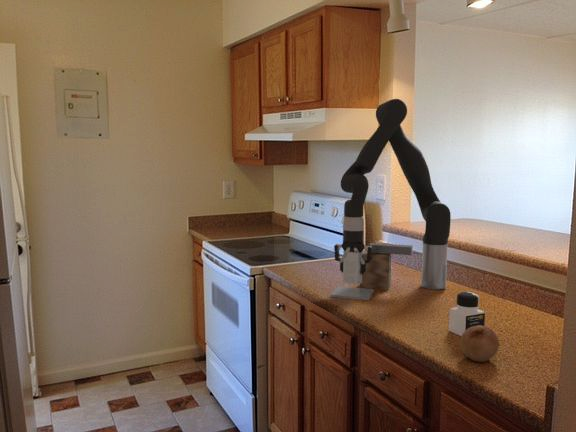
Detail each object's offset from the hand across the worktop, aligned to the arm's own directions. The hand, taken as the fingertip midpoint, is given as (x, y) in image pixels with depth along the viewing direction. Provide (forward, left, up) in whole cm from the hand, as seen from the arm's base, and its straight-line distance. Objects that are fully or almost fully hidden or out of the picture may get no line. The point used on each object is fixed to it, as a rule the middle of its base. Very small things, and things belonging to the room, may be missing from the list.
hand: (352, 272), depth 196 cm
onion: (-43, +49, -8) cm, 66 cm away
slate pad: (0, 0, -8) cm, 8 cm away
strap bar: (-12, -12, +6) cm, 18 cm away
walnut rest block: (-7, -12, -8) cm, 16 cm away
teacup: (-7, -26, -8) cm, 28 cm away
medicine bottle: (-40, +30, -8) cm, 51 cm away
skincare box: (0, 0, -4) cm, 4 cm away
